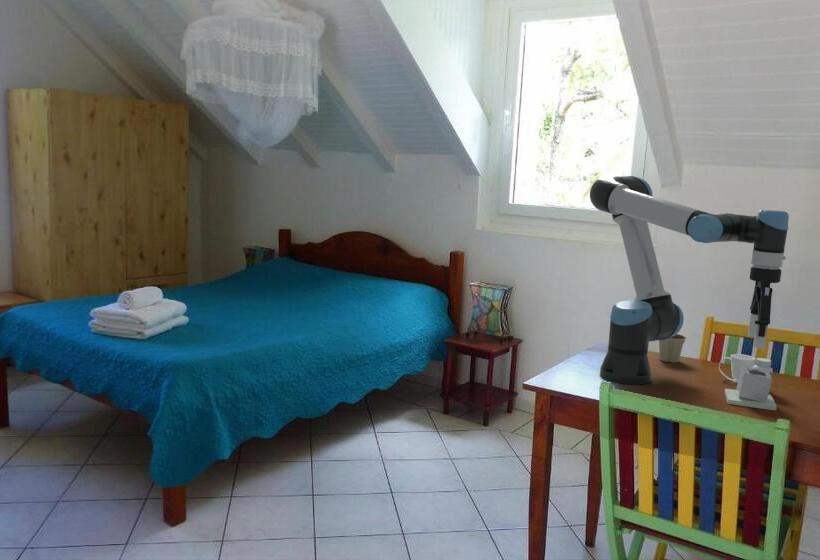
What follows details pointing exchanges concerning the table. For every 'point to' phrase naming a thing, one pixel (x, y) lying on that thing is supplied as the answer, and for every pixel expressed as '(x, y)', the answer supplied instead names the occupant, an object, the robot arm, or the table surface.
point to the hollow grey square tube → (754, 385)
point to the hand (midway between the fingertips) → (755, 342)
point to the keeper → (736, 400)
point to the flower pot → (671, 348)
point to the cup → (738, 365)
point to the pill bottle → (763, 365)
